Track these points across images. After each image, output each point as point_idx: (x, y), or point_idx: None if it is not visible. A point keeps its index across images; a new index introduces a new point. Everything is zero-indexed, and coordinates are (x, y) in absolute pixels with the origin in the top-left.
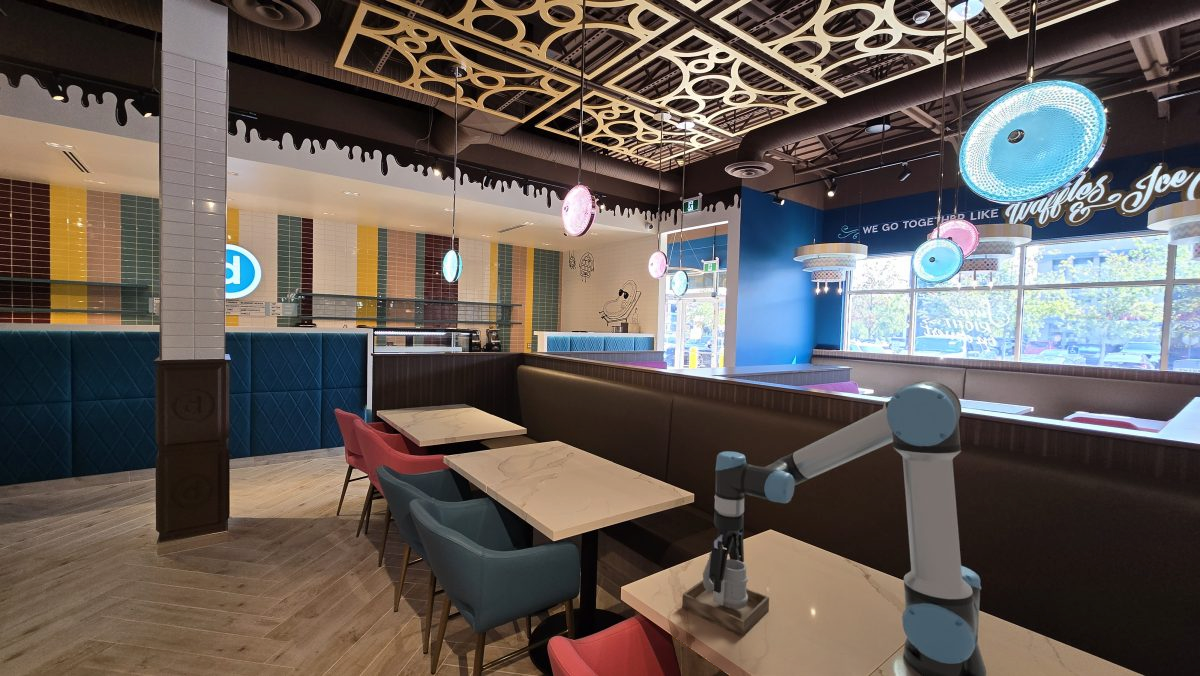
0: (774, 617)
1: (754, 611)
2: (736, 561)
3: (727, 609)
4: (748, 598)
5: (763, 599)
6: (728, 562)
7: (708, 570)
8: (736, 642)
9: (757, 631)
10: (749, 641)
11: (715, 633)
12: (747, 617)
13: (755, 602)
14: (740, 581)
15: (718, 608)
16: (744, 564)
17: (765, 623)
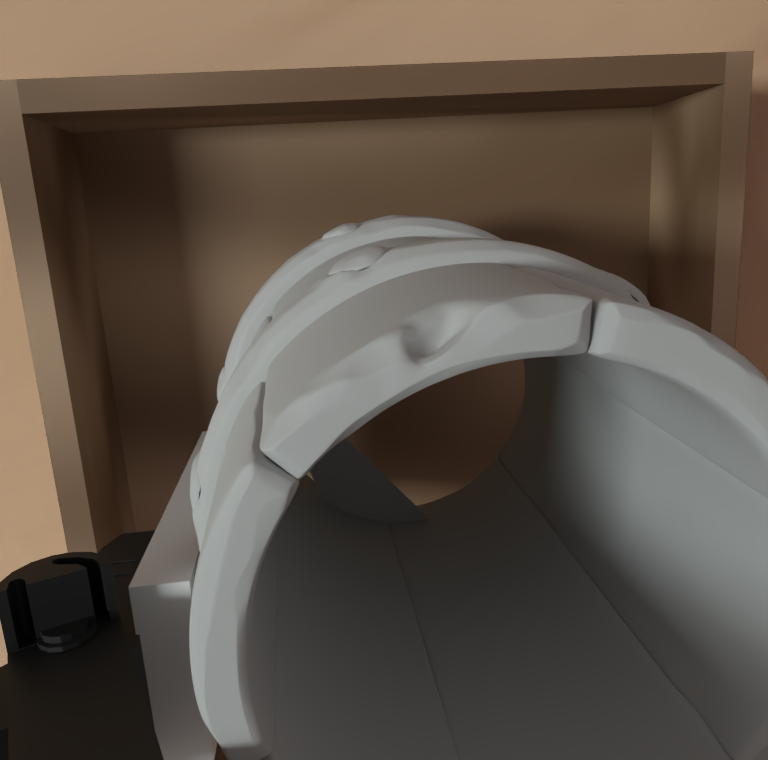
0: (107, 8)
1: (454, 64)
2: (261, 711)
3: (420, 398)
4: (96, 346)
5: (46, 154)
6: None
7: None
8: (761, 89)
9: (477, 26)
10: (672, 7)
11: (764, 288)
12: (640, 59)
13: (89, 258)
14: (609, 284)
15: (471, 462)
16: (262, 470)
17: (290, 30)
